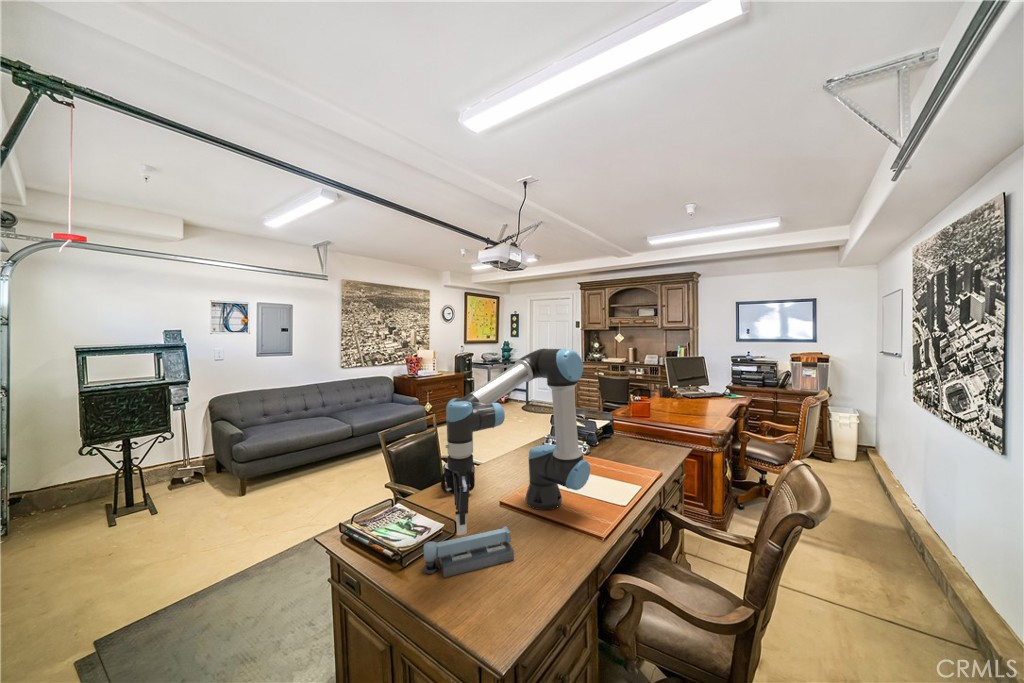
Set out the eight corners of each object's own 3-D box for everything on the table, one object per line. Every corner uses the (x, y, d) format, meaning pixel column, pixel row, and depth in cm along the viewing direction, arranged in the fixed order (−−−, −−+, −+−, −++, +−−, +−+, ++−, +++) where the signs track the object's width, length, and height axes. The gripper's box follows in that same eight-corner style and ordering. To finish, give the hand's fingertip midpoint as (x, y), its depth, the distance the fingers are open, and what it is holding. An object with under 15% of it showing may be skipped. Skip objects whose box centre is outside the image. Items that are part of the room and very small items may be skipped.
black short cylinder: (438, 562, 114) (437, 551, 114) (440, 572, 109) (440, 560, 109) (421, 566, 112) (421, 555, 112) (423, 576, 108) (423, 564, 108)
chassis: (503, 541, 125) (502, 531, 124) (514, 560, 114) (513, 549, 114) (438, 556, 117) (437, 546, 117) (443, 577, 107) (443, 566, 107)
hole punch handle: (424, 562, 108) (424, 550, 108) (423, 555, 112) (422, 543, 112) (510, 542, 117) (510, 531, 117) (506, 536, 121) (506, 525, 121)
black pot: (474, 498, 158) (473, 470, 157) (437, 499, 158) (436, 471, 157) (478, 482, 174) (477, 457, 174) (444, 483, 174) (444, 458, 174)
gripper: (443, 449, 113) (445, 525, 113) (451, 463, 100) (453, 548, 101) (467, 446, 115) (469, 520, 116) (478, 459, 103) (479, 542, 103)
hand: (461, 533), depth 108 cm, fingers closed
